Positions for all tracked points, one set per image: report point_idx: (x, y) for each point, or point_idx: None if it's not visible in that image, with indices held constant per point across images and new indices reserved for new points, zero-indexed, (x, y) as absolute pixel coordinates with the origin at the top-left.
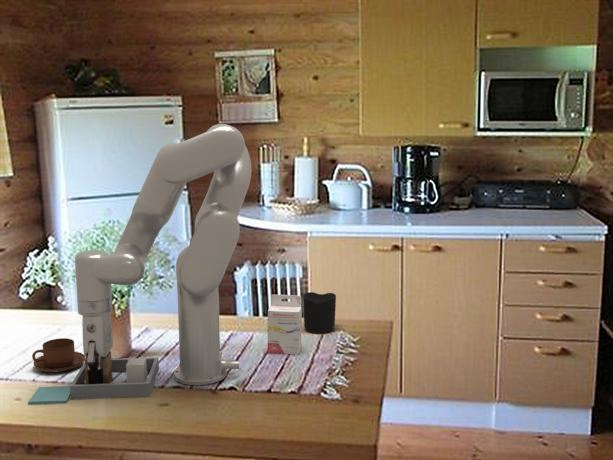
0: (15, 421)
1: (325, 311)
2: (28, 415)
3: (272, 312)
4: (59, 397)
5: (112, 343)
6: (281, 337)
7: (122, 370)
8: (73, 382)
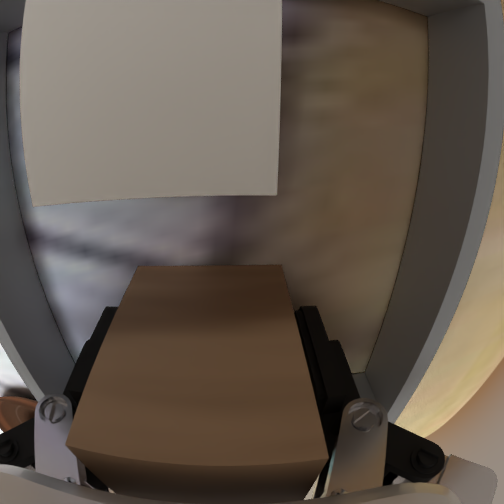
0: (446, 421)
1: None
2: (432, 417)
3: None
4: None
5: (7, 493)
6: None
7: (21, 234)
8: None
